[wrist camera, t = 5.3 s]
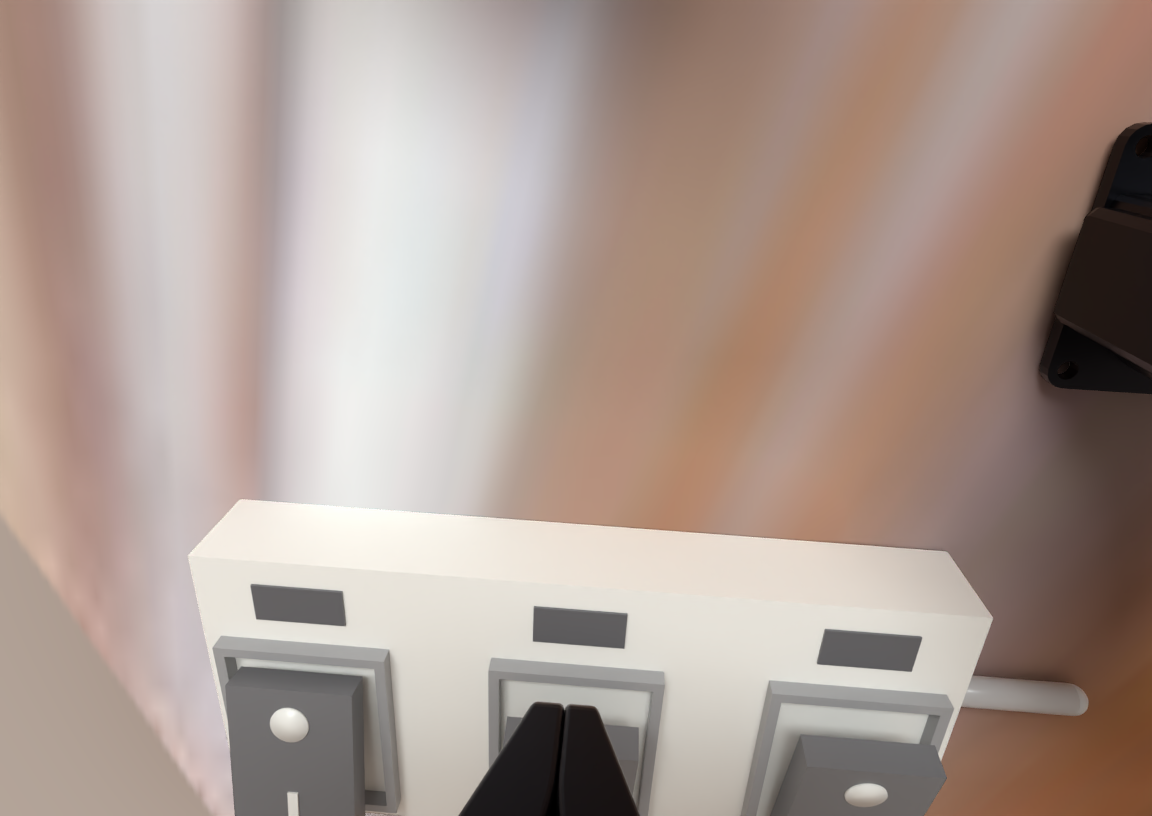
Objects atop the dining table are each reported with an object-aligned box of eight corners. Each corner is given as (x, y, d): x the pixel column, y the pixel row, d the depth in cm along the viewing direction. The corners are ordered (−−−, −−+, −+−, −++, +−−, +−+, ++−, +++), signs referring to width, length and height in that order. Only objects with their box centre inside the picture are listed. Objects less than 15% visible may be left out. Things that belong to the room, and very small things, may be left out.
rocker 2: (935, 745, 19) (947, 780, 19) (881, 838, 22) (890, 872, 21) (800, 733, 19) (807, 768, 19) (765, 828, 22) (770, 861, 22)
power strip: (1132, 564, 22) (1219, 647, 18) (1030, 792, 26) (1087, 892, 23) (240, 499, 23) (177, 567, 19) (279, 728, 27) (233, 815, 24)
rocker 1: (362, 676, 21) (351, 697, 20) (365, 823, 22) (354, 849, 21) (241, 666, 21) (223, 686, 20) (251, 813, 22) (235, 838, 21)
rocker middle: (638, 727, 19) (638, 763, 19) (624, 807, 23) (624, 841, 22) (507, 716, 20) (501, 751, 19) (512, 798, 23) (508, 830, 22)
